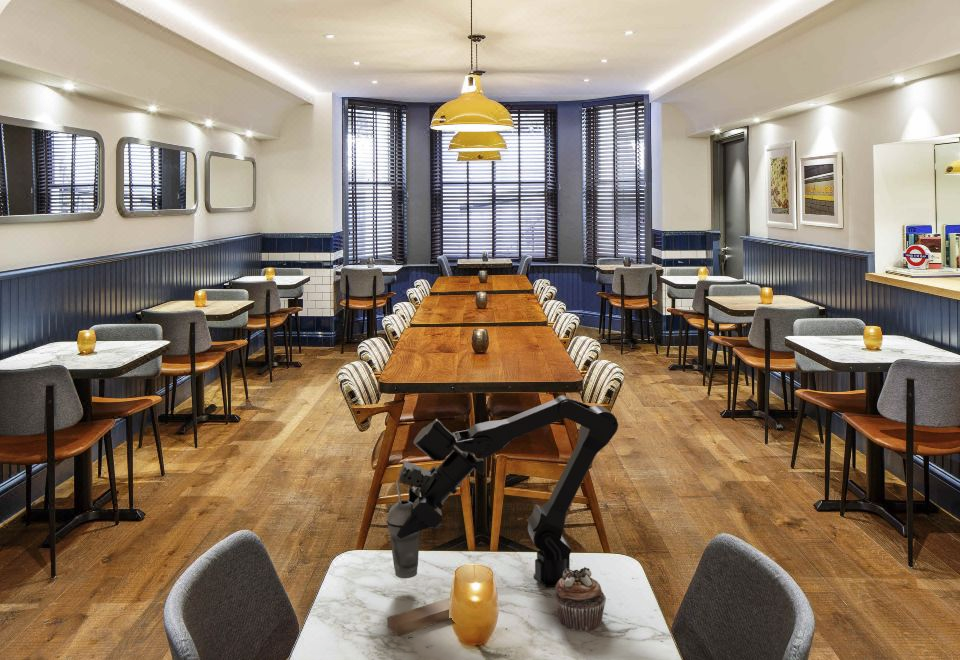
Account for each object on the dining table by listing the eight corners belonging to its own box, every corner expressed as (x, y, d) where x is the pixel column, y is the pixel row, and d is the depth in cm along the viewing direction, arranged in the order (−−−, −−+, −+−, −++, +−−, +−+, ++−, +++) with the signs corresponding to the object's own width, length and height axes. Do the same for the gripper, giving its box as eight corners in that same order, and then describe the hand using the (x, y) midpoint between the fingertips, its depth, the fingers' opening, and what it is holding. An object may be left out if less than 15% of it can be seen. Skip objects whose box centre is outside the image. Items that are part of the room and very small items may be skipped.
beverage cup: (418, 582, 169) (415, 487, 166) (384, 580, 170) (380, 485, 168) (427, 567, 176) (424, 476, 173) (394, 565, 177) (390, 474, 175)
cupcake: (564, 636, 154) (563, 584, 153) (549, 611, 163) (549, 563, 162) (613, 630, 156) (613, 579, 154) (596, 606, 165) (596, 558, 164)
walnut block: (459, 604, 167) (458, 594, 167) (469, 612, 164) (469, 602, 163) (387, 627, 158) (387, 617, 158) (397, 635, 155) (397, 625, 155)
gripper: (418, 437, 179) (369, 490, 179) (423, 463, 161) (368, 521, 161) (456, 470, 181) (407, 522, 181) (465, 499, 163) (410, 557, 163)
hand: (397, 529), depth 172 cm, fingers closed on beverage cup, 7 cm apart
